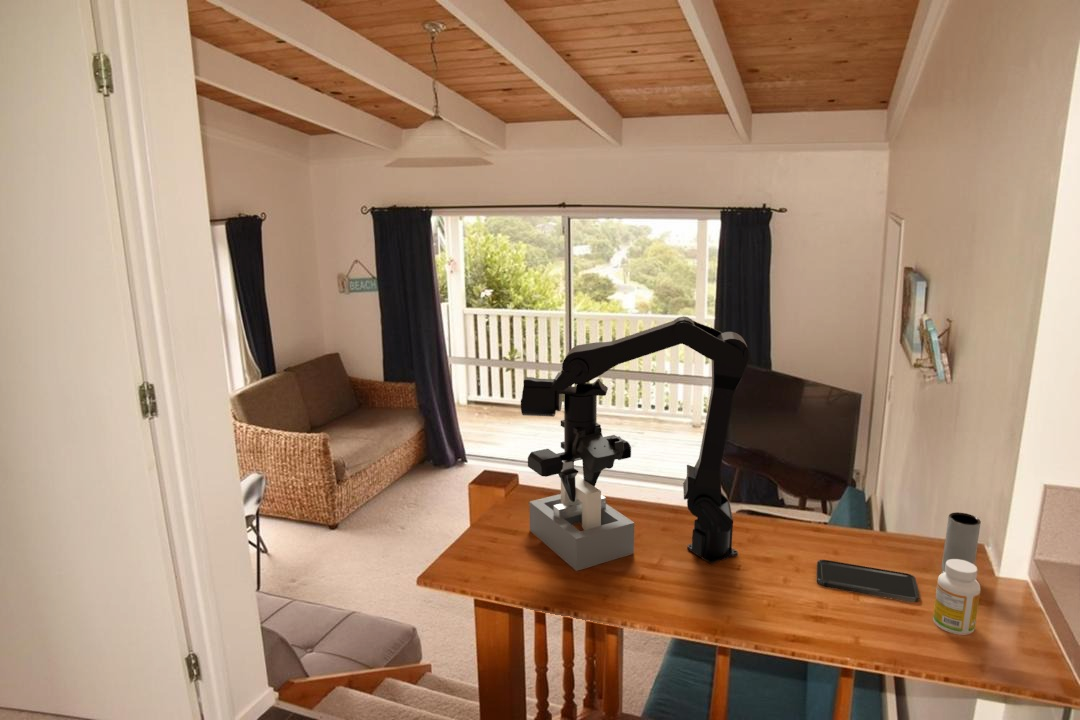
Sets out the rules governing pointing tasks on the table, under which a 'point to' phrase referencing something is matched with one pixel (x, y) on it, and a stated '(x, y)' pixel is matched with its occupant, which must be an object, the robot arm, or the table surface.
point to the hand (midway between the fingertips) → (580, 499)
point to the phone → (867, 580)
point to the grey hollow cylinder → (961, 538)
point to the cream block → (586, 502)
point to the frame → (582, 534)
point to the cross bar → (572, 508)
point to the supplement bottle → (957, 597)
